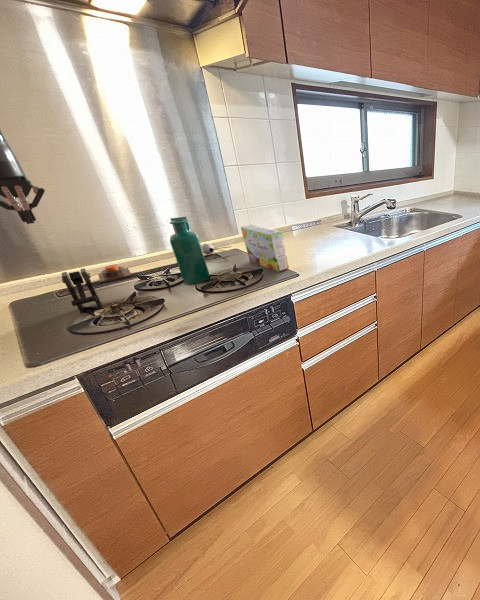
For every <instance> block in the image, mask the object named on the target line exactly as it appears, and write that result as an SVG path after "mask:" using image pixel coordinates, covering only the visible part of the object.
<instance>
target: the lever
mask: <svg viewBox="0 0 480 600" xmlns="http://www.w3.org/2000/svg"><path fill="white" fill-rule="evenodd" d="M68 276H69V278H70V280H71V282H72V284H73V286H75V287H76V291H77V293H78V295H79V297H80V299H78V300H74V299H73V300H71V301H70V303H71V305H72V307H77V305H80V304H83V305H84V304H88V303H92V302H95V301H97V299H96V297H95V296H92V295H90V296H86V294H85V290H84V287H83V284H85V280H84V278H83V276H82V274H81V271H79V270H77V271H72V272H68Z"/></svg>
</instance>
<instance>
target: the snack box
mask: <svg viewBox="0 0 480 600" xmlns="http://www.w3.org/2000/svg"><path fill="white" fill-rule="evenodd" d="M240 230H241V235H242V238H243V241H244V245H245V249H246V252H247V256H248V260H249V262H250V263H253V264H255V265H259V266H261V267H264V268H266V269H270V270H272V271H274V272H277V273H279V272H282V271H285V270H287V269H290V266H289V261H288V256H287V251H286V246H285V241H284V237H283V236H284V235H283V232H282V231H280V230H276V229H272V228H268V227H264V226H260V225H256V224H247V225H243V226H240Z"/></svg>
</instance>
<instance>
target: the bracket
mask: <svg viewBox="0 0 480 600" xmlns="http://www.w3.org/2000/svg"><path fill="white" fill-rule="evenodd" d="M80 274H81V276H82V278H83V281H84V283H85V285H86V287H87V289H88V291H89V293H90V296H95V297H96V299H97V301H94V303H95V305H96V307H97V308H98V309H101V308H103V304H102V301H101V299H100V297H99V295H98V292H97V290H96V288H95V286H94V284H93V282H92V280H91V278H92V275H91V274H90V273H89V272H87V270H86V268H85V267H84V268H80ZM60 280H61V282H62V283H63V284H65V286H66V289H67V290H68V292H69V294H70V296H71V298H72V299H73V301H74V300H78V299H80V296H79V293H78V290H77V288H75V287H76V286H75V285H74V284H73V282H72V281H71V279H70V276H69V273H68V272H67V271H64V272H61V278H60ZM84 307H85V305H84V304H80V305H76V308H77V309H78V311H79V313H80V314H81V313H85V312H86V309H85V310H84Z"/></svg>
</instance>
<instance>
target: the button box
mask: <svg viewBox="0 0 480 600" xmlns="http://www.w3.org/2000/svg"><path fill="white" fill-rule="evenodd" d="M118 268H119V270H116V271H112V272H107V271H106V269H105V268H104V269H103V270H101V272H100V273H98V274H97V275H98V280H99V282H100V284H106V283H110V282H115V281H119V280H125V279H128V278H132V277H133V275H132V273H131V271H130V270H129V269H130V268H129V267H124V266H118Z"/></svg>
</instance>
